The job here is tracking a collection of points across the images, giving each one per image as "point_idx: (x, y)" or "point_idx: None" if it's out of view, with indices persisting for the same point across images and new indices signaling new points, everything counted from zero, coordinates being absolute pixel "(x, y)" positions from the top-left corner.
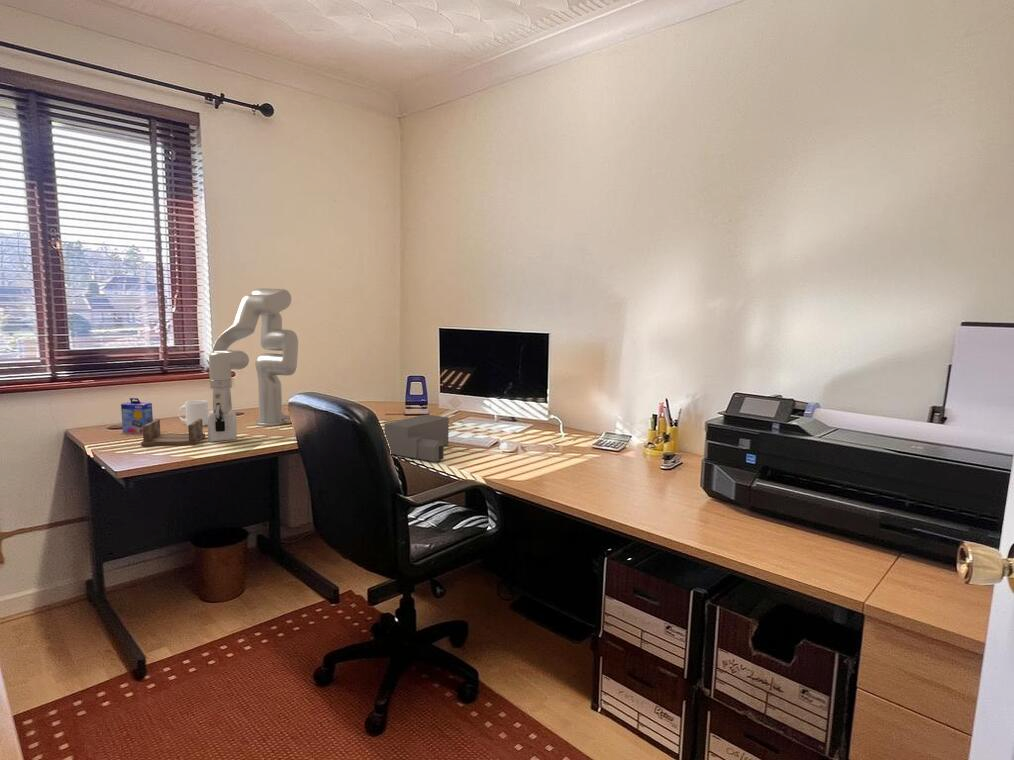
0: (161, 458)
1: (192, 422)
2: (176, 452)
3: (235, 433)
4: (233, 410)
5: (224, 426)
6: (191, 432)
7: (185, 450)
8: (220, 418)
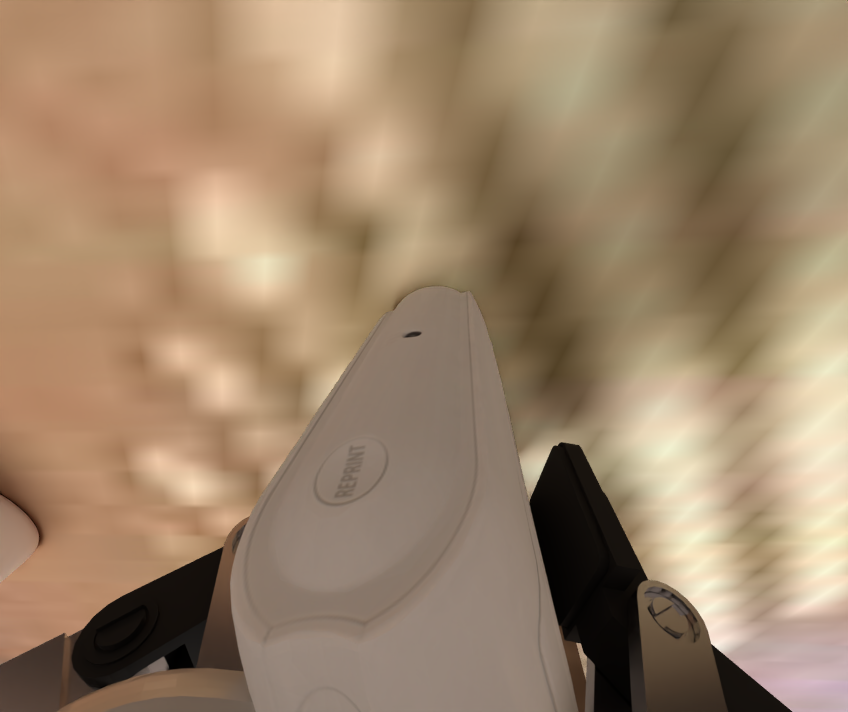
0: (839, 642)
1: (4, 565)
2: (726, 597)
3: (477, 312)
4: (393, 706)
5: (601, 490)
6: (575, 645)
7: (699, 568)
8: (785, 708)
